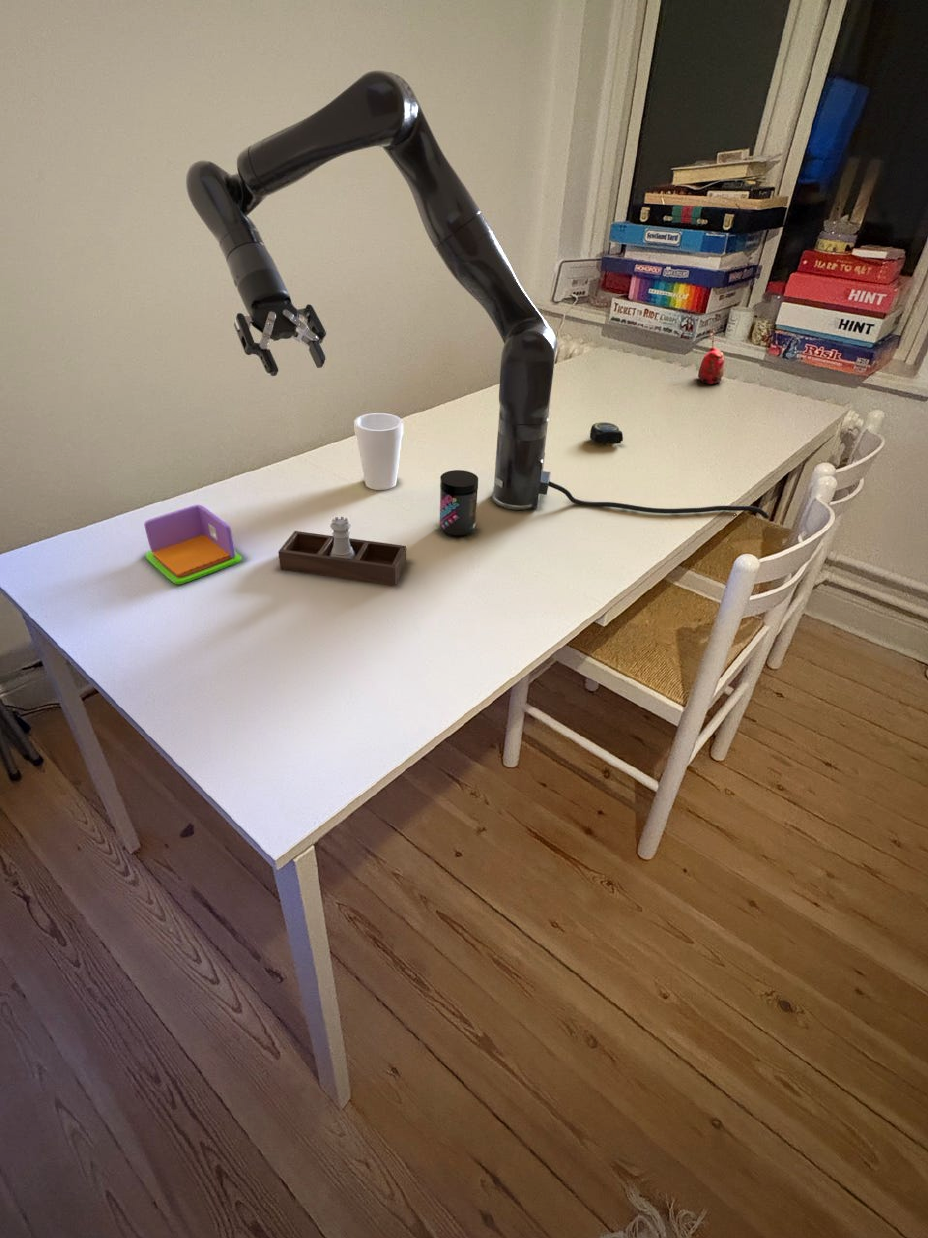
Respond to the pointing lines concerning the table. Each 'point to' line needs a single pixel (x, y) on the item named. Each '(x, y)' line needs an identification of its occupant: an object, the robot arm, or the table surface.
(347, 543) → the rook chess piece
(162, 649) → the table surface
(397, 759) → the table surface
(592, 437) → the tape measure
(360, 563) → the compartment tray
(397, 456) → the foam cup
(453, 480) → the supplement container
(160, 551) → the toy room diorama
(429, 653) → the table surface
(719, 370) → the red clay folk toy
